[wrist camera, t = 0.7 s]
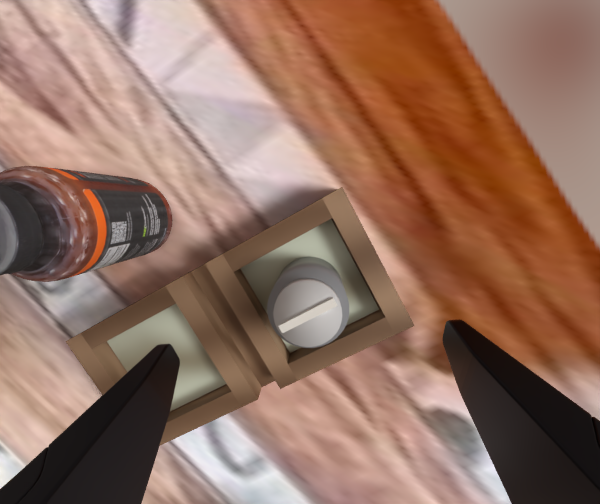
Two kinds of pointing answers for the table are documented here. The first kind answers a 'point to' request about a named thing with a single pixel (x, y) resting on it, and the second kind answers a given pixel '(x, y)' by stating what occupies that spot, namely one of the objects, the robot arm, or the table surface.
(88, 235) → the supplement bottle
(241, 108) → the table surface
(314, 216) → the walnut twin holder
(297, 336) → the seated grey knob
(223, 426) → the table surface
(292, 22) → the table surface
